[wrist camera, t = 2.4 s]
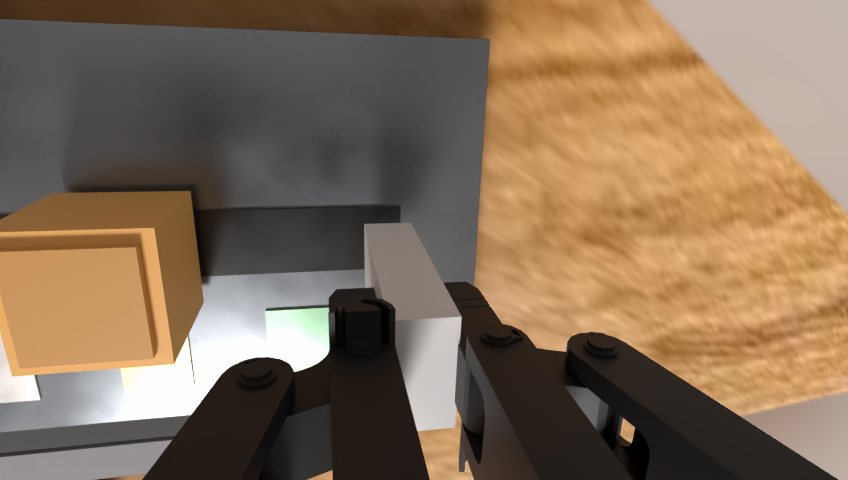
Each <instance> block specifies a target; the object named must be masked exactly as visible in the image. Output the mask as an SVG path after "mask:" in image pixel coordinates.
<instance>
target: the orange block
mask: <svg viewBox="0 0 848 480" xmlns="http://www.w3.org/2000/svg"><path fill="white" fill-rule="evenodd" d="M203 303H204V299H203V290H202V282H201V274H200V265H199V257H198V249H197V241H196V232H195V224H194V216H193V207H192V199H191V191H151V192H85V193H52V194H50V195H48V196H46V197H44V198H42V199H40V200H38V201H36V202H34V203H32V204H30V205H28V206H26V207H24V208H22V209H20V210H18V211H16V212H14V213H12V214H10V215H8V216H6V217H4V218H2V219H0V334H1V338H2V341H3V345H4V349H5V352H6V356H7V360H8V364H9V367H10V371H11V375H12V377H13V376H27V375H40V374H53V373H67V372H80V371H93V370H107V369H120V368H133V367H147V366H160V365H173V364H175V362H176V360H177V358H178V356H179V354H180V351H181V349H182V347H183V345H184V343H185V341H186V339H187V337H188V335H189V332H190V330H191V328H192V326H193V324H194V322H195V320H196V318H197V316H198V313H199V311H200V309H201V307H202V305H203Z"/></svg>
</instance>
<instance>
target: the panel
mask: <svg viewBox="0 0 848 480" xmlns="http://www.w3.org/2000/svg"><path fill="white" fill-rule="evenodd" d="M489 45H490V39H468V38H444V37H420V36H396V35H373V34H349V33H325V32H301V31H277V30H253V29H229V28H205V27H181V26H157V25H133V24H109V23H85V22H61V21H37V20H13V19H0V219H2V218H4V217H6V216H8V215H10V214H12V213H14V212H16V211H18V210H20V209H22V208H24V207H26V206H28V205H30V204H32V203H34V202H36V201H38V200H40V199H42V198H44V197H46V196H48V195H50V194H52V193H85V192H151V191H191V199H192V207H193V216H194V224H195V232H196V241H197V249H198V257H199V265H200V274H201V282H202V290H203V299H204V303H203V305H202V307H201V309H200V311H199V313H198V316H197V318H196V320H195V322H194V324H193V326H192V328H191V330H190V332H189V335H188V337H187V339H186V341H185V343H184V345H183V347H182V349H181V351H180V354H179V356H178V358H177V360H176V362H175V364H173V365H160V366H147V367H133V368H120V369H107V370H93V371H80V372H67V373H53V374H40V375H27V376H13V377H12V375H11V371H10V367H9V364H8V360H7V356H6V352H5V349H4V345H3V341H2V338H1V334H0V432H10V431H21V430H32V429H43V428H53V427H64V426H75V425H86V424H96V423H107V422H118V421H129V420H139V419H150V418H161V417H172V416H182V415H191V414H192V413H193V412H194V410H195V409H196V408H197V406H198V405H199V404H200V402H201V401H202V400H203V398H204V397H205V396H206V394H207V393H208V392H209V390H210V389H211V388H212V386H213V385H214V384H215V382H216V381H217V380H218V378H219V377H220V376H221V374H222V373H224V372H225V371H226V370H227V369H228V368H229V367H231V366H233V365H235V364H237V363H239V362H241V361H244V360H247V359H251V358H256V357H272V358H277V359H282V360H284V361H285V362H287V363H289V364H290V365H291V367H292V368H293V370H294V372H295V371H299V370H303V369H305V368H308V367H311V366H313V365H315V364H317V363H319V362H320V361H321V360H322V359H324V358H325V357H326V355H327V354H328V352H329V322H328V312H329V297H330V296H331V295H332V294H333V292H334V291H335V290H336V289H350V288H365V255H364V224H380V223H411V224H412V226H413V228H414V230H415V231H416V233H417V235H418V237H419V239H420V241H421V243H422V244H423V246H424V248H425V250H426V252H427V254H428V255H429V257H430V259H431V261H432V263H433V265H434V267H435V268H436V270H437V272H438V274H439V276H440V278H441V280H442V281H443V283H446V282H467V283H469V284H471V285H473V286H474V271H475V256H476V241H477V225H478V210H479V195H480V180H481V165H482V150H483V135H484V120H485V105H486V90H487V75H488V60H489Z"/></svg>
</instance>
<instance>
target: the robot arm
mask: <svg viewBox="0 0 848 480" xmlns="http://www.w3.org/2000/svg"><path fill="white" fill-rule="evenodd" d="M364 255H365V288H350V289H336V290H335V291H334V292H333V294H332V295H331V296H330V297H329V312H328V322H329V352H328V354H327V355H326V357H325V358H324V359H322V360H321V361H320V362H319V363H317V364H315V365H313V366H311V367H308V368H305V369H303V370H299V371H295V372H294V370H293V368H292V367H291V365H290V364H289V363H287V362H285V361H284V360H282V359H277V358H272V357H256V358H251V359H247V360H244V361H241V362H239V363H237V364H235V365H233V366H231V367H229V368H228V369H227V370H226V371H225V372H224V373H222V374H221V376H220V377H219V378H218V380H217V381H216V382H215V384H214V385H213V386H212V388H211V389H210V390H209V392H208V393H207V394H206V396H205V397H204V398H203V400H202V401H201V402H200V404H199V405H198V406H197V408H196V409H195V410H194V412H193V413H192V414H191V416H190V417H189V418H188V420H187V421H186V422H185V424H184V425H183V426H182V428H181V429H180V430H179V432H178V433H177V434H176V436H175V437H174V438H173V440H172V441H171V442H170V444H169V445H168V446H167V448H166V449H165V450H164V452H163V453H162V454H161V456H160V457H159V458H158V460H157V461H156V462H155V464H154V465H153V466H152V468H151V469H150V470H149V471H148V473H147V474H146V475H145V477H144V478H143V479H142V480H307V479H309V478H312V477H315V476H317V475H320V474H323V473H325V472H328V471H331V470H333V480H430V479H429V475H428V471H427V467H426V464H425V460H424V456H423V452H422V448H421V444H420V440H419V436H418V432H417V431H424V430H433V429H443V428H453V427H455V420H456V407H457V409H458V412H459V414H460V417H461V419H462V421H461V437H460V452H459V472H464V469H465V462H466V460H467V461H468V463H469V466H470V469H471V472H472V475H473V477H474V480H838V479H836V478H835V477H833V476H832V475H830V474H829V473H827V472H825V471H824V470H822V469H821V468H819V467H818V466H816V465H815V464H813V463H811V462H810V461H808V460H807V459H805V458H804V457H802V456H801V455H799V454H797V453H796V452H794V451H793V450H791V449H790V448H788V447H787V446H785V445H783V444H782V443H780V442H779V441H777V440H776V439H774V438H772V437H771V436H770V435H768V434H766V433H765V432H763V431H762V430H760V429H758V428H757V427H756V426H754V425H752V424H751V423H749V422H748V421H746V420H745V419H743V418H742V417H740V416H738V415H737V414H735V413H734V412H732V411H731V410H729V409H728V408H726V407H724V406H723V405H721V404H720V403H718V402H717V401H715V400H714V399H712V398H710V397H709V396H707V395H706V394H704V393H703V392H701V391H700V390H698V389H696V388H695V387H693V386H692V385H690V384H689V383H687V382H686V381H684V380H682V379H681V378H679V377H678V376H676V375H675V374H673V373H672V372H670V371H668V370H667V369H665V368H664V367H662V366H661V365H659V364H658V363H656V362H654V361H653V360H651V359H650V358H648V357H647V356H645V355H644V354H642V353H640V352H639V351H637V350H636V349H634V348H633V347H631V346H630V345H628V344H626V343H625V342H623V341H621V340H619V339H617V338H615V337H612V336H608V335H606V334H604V333H598V332H597V333H596V332H589V333H579V334H577V335H574V336H572V337H571V338H570V339H569V341H568V343H567V350H566V352H562V351H552V350H544V349H538V348H536V347H535V346H534V344H533V343H532V341H531V340H530V339H529V337H528V336H527V335H526V334H525V333H523V332H522V331H521V330H519V329H517V328H515V327H512V326H509V325H504V324H502V323H501V321H500V320H499V318H498V317H497V316H496V314H495V313H494V311H493V310H492V308H491V307H489V304H488V302H487V301H486V300H485V299H484V296H483V295H482V294H481V292H480V291H479V289H478V288H476V287H474V286H473V285H471V284H469V283H467V282H446V283H443V281H442V280H441V278H440V276H439V274H438V272H437V270H436V268H435V267H434V265H433V263H432V261H431V259H430V257H429V255H428V254H427V252H426V250H425V248H424V246H423V244H422V243H421V241H420V239H419V237H418V235H417V233H416V231H415V230H414V228H413V226H412V224H411V223H380V224H364ZM623 418H624V419H626V420H627V421H628V422H629V423H630V424H632V425H633V426H634V427H635V432H634V437H633V441H632V443H629V442H628V441H626V440H625V439H624V438H623V437H621V436H620V431H621V426H622V420H623Z"/></svg>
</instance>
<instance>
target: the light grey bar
mask: <svg viewBox="0 0 848 480" xmlns="http://www.w3.org/2000/svg"><path fill="white" fill-rule="evenodd" d="M174 437H175V436H168V437H158V438H148V439H138V440H128V441H118V442H108V443H98V444H88V445H78V446H68V447H58V448H48V449H37V450H27V451H17V452H7V453H0V480H95V479H104V478H112V477H121V476H130V475H139V474H147V473H148V471H149V470H150V469H151V468H152V466H153V465H154V464H155V462H156V461H157V460H158V458H159V457H160V456H161V454H162V453H163V452H164V450H165V449H166V448H167V446H168V445H169V444H170V442H171V441H172V440H173V438H174Z"/></svg>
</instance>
